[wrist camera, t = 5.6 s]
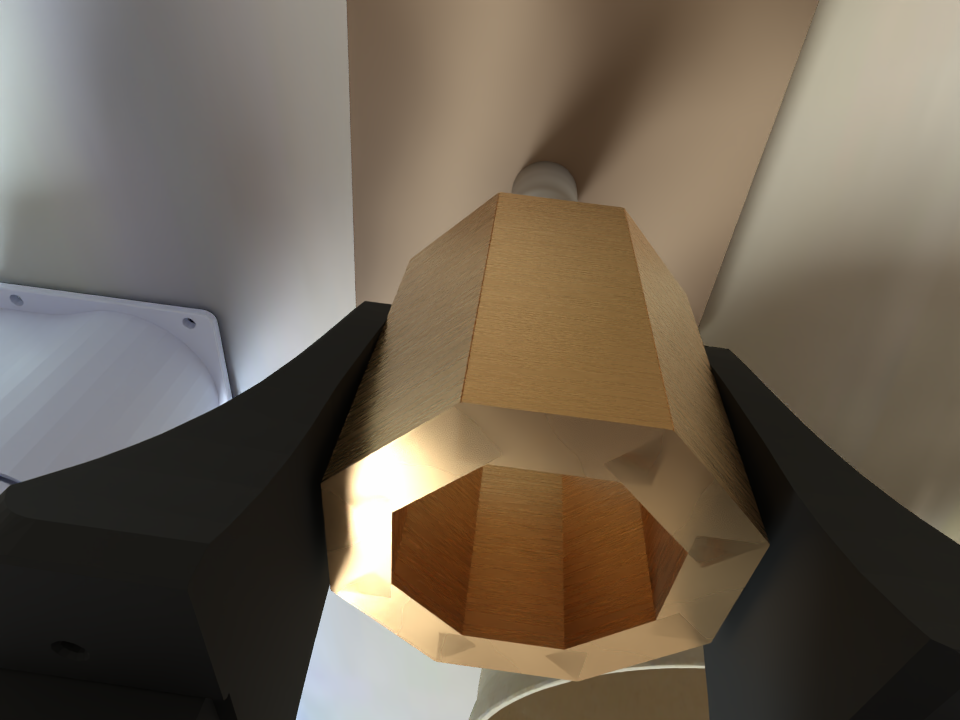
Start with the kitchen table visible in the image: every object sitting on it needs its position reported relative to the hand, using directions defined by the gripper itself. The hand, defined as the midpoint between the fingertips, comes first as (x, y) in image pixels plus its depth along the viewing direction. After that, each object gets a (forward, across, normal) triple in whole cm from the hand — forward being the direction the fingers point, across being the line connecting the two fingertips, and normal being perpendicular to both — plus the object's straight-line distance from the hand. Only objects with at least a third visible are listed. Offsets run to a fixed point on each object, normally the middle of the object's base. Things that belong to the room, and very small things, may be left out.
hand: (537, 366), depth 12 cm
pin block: (+10, 0, 0) cm, 10 cm away
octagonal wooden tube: (+1, 0, 0) cm, 1 cm away
